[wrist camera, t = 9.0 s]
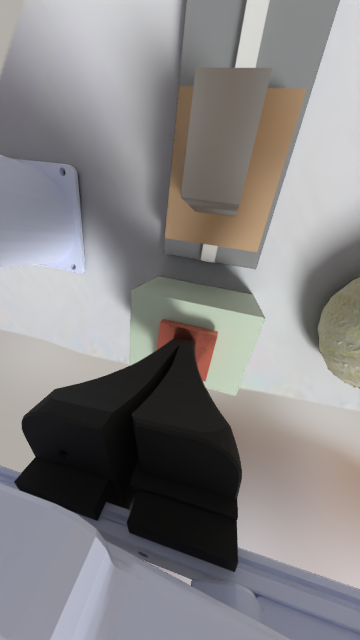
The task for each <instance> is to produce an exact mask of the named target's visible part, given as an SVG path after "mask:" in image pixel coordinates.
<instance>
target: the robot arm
mask: <svg viewBox="0 0 360 640" xmlns="http://www.w3.org/2000/svg"><path fill="white" fill-rule="evenodd" d="M64 170H65V172H66V174H65V176H64ZM31 265H41V266H46V267H51V268H56V269H61V270H66V271H71V272H75V273H83V272H85V269H86V268H85V256H84V244H83V232H82V220H81V209H80V197H79V185H78V174H77V171H76V169H75V168H74V167H73V166H71V165H69V164H61V163H51V162H41V161H31V160H21V159H11V158H8V157H6V156H3V155H1V154H0V269H6V268H14V267H22V266H31ZM74 265H75V266H76V269H75V267H74ZM195 349H196V342H195V341H194V340H188V339H179V338H174V339H172V340H171V341H169V342H168V343H166V344H165V345H164V346H162V347H161V348H159V349H158V350H156V351H155V352H153V353H152V354H150V355H148V356H147V357H145V358H144V359H142V360H140V361H138V362H136V363H134V364H132V365H130V366H128V367H126V368H124V369H122V370H119V371H116V372H114V373H112V374H109V375H106V376H103V377H100V378H98V379H94V380H90V381H87V382H83V383H80V384H75V385H71V386H67V387H63V388H58V389H55V390H53V391H52V392H51V393H50V394H49V395H48V396H47V397H46V398H44V399H43V400H42V401H41V402H40V403H38V404H37V405H36V406H35V407H34V408H33V409H31V410H30V411H29V412H28V413H27V414H26V415H25V416H24V417H23V420H22V430H23V433H24V435H25V437H26V439H27V441H28V443H29V445H30V447H31V449H32V451H33V453H34V454H35V456H36V457H35V458H34V460H33V461H32V462H31V463H30V464H29V465H28V466H27V467H26V469H25V470H24V471H23V472H22V473H20V472H17V471H14V470H12V469H9V468H6V467H2V466H0V640H360V589H358V588H355V587H352V586H349V585H346V584H343V583H340V582H337V581H334V580H332V579H329V578H326V577H323V576H320V575H317V574H314V573H311V572H308V571H305V570H302V569H300V568H297V567H293V566H291V565H288V564H285V563H282V562H279V561H276V560H273V559H271V558H268V557H265V556H262V555H259V554H256V553H253V552H250V551H247V550H244V549H241V548H238V547H237V546H238V545H237V518H238V507H237V496H238V492H239V488H240V484H241V479H242V469H241V462H240V457H239V453H238V449H237V445H236V442H235V439H234V436H233V433H232V430H231V427H230V425H229V424H228V423H227V421H226V420H225V418H224V417H223V416H222V414H221V413H220V411H219V410H218V408H217V407H216V405H215V404H214V402H213V400H212V399H211V397H210V395H209V393H208V391H207V389H206V387H205V385H204V383H203V381H202V378H201V375H200V373H199V370H198V366H197V362H196V357H195ZM144 560H145V561H147V562H150V563H152V564H155V565H157V566H160V567H162V568H165V569H167V570H170V571H172V572H174V573H177V574H180V575H182V576H184V577H187V578H189V579H192V581H191V586H190V585H188V584H187V583H185V582H183V581H181V580H179V579H177V578H175V577H173V576H171V575H170V574H168V573H166V572H164V571H162V570H160V569H159V568H157V567H155V566H153V565H151V564H149V563H147V562H145V561H144Z"/></svg>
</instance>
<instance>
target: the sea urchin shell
mask: <svg viewBox="0 0 360 640" xmlns="http://www.w3.org/2000/svg"><path fill="white" fill-rule="evenodd" d="M317 330H318V334H319V348H320V350H319V351H320V352H321V354H322V356H323V358H324V360H325V362H326V365H327V367H328V369H329V370H330V371H331V372H332V373H333V374H334V375H335V376H337V377H338V378H339V379H341V380H342V381H344V382H345V383H348V384H349V385H351V386H354V387H357V388H360V277H359V278H357V279H353V280H352V281H351V282H350V283H349V284H347V285H346V286H345V287H344V288H342V289H341V290H340V291H338V292H337V293H336V294H334V295H333V296H332V297H331V298H330V300H329V301H328V303H327V304H326V306H325V307H324V308H323V310H322V313H321V318H320V322H319V326H318V329H317Z"/></svg>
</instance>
